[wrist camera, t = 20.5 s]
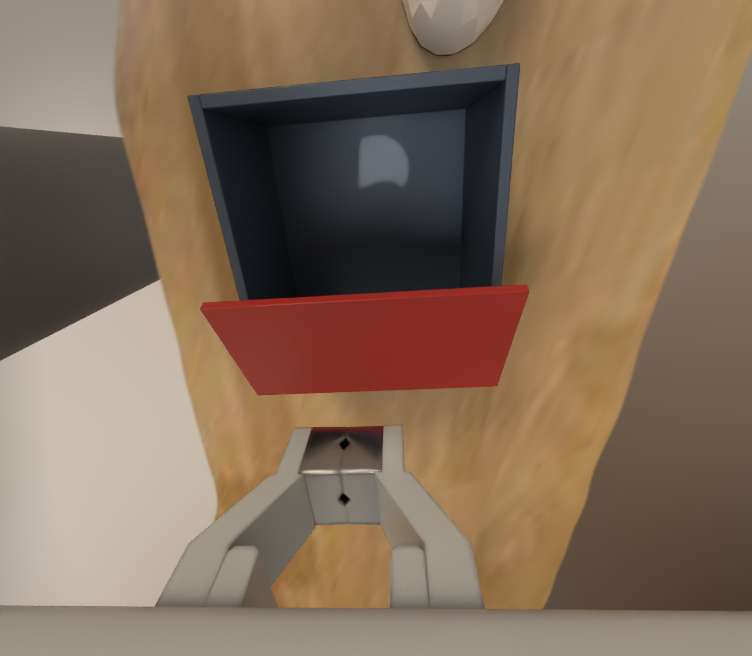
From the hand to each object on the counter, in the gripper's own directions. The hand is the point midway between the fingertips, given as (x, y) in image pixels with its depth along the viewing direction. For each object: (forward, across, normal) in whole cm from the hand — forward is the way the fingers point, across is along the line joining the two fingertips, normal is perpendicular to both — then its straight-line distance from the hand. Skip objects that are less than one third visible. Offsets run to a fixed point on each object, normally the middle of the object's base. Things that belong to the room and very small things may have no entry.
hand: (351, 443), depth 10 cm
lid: (+7, 0, +1) cm, 7 cm away
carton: (+17, 0, -3) cm, 18 cm away
